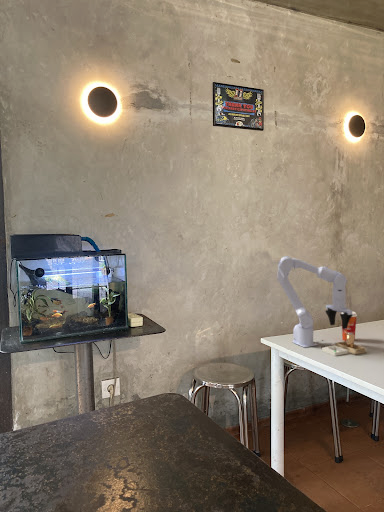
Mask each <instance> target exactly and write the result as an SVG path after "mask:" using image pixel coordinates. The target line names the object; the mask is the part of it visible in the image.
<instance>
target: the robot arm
mask: <svg viewBox="0 0 384 512" xmlns="http://www.w3.org/2000/svg"><path fill="white" fill-rule="evenodd" d="M292 269H296V270H298V269H303V270H306V271H307V272H311V273H313V274H315V275H316V277H317V278H319V279H321V280H324V281H326V282H327V283H332V295H331V296H332V302H331V303H332V304H326V305H325V309H326V310H325V314H326V315H327V317H328V320H329V324H330V326H334V325H335V324H336V316H337V312H339V313H340V314H339V315H340V318H341V329H342V328H343V329H347V326H348V323H349V320H350V318H351V317H352V312H353V310H352V309H349V308H347V306H346V284H347V283H348V279H347V277H346V275H344V274H343V273H341V272H340V271H338V270H336V269H335V270H334V269H330V268H329V267H328V266H326V265H325V266H320V267H319V266H318V267H317V266H316V265H313V264H311V263H309V262H307V261H304V260H302V259H299V258H296V257H291V256H288V255H285V256H282V257H281V258H280V260H279V262H278V265H277V273H276V275H277V276H276V278H277V281H278V283H279V285H280V286H281V288H282V290H283V291H284V293H285V295H286V297H287V299H288V300H289V302H290V303H291V306H292V307H293V309H294V311H295V313H296V316H297V317H298V320H299V323H298V324H295V325H294V327H293V329H292V330H293V331H292V333H293V337H292V338H293V340H292V341H291V343H293V344H295V345H298V346H300V347H302V348H308V347H314V346H318V344H317V343H316V342H314V319H313V316H312V314H311V312H310V311H308V310H307V309H306V307H305V306H304V304H303V302H302V300H301V299H300V297H299V296H298V293H297V292H296V290H295V288H294V287H293V285H292V283H291V281H290V280H289V278H288V277H289V275H290V272H291V271H292ZM341 313H344V314H341Z"/></svg>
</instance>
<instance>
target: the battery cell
mask: <svg viewBox="0 0 384 512" xmlns="http://www.w3.org/2000/svg"><path fill="white" fill-rule="evenodd" d="M354 344H355V340H354V334H352V333H348V334H347V336H346V346H347V347H350V348H353V349H354Z"/></svg>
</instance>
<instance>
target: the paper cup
mask: <svg viewBox="0 0 384 512" xmlns="http://www.w3.org/2000/svg"><path fill="white" fill-rule="evenodd" d="M340 314H344V313H342V312H340ZM357 317H358V315H357V312H355V311H352V317H351V318H350V320H349V323H348V326H347V329H343V328H342V327H341V334H342V336H341V337H342V341H346V336H347V334H348V333H352V334H354V341H355V340H356V339H355V337H356V327H357V326H356V325H357Z"/></svg>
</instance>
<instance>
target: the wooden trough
mask: <svg viewBox="0 0 384 512" xmlns="http://www.w3.org/2000/svg"><path fill="white" fill-rule="evenodd" d="M334 345H336V346H338V347H341V348H344V349H347V350H348V354H352V355H354V356H357V355H362V354H366V353H367V348H366V347H363V346H360V345H358V344H355V343H354V349H353V348H350V347H347V346H346V341H344V340H342V341H339V342H334Z"/></svg>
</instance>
